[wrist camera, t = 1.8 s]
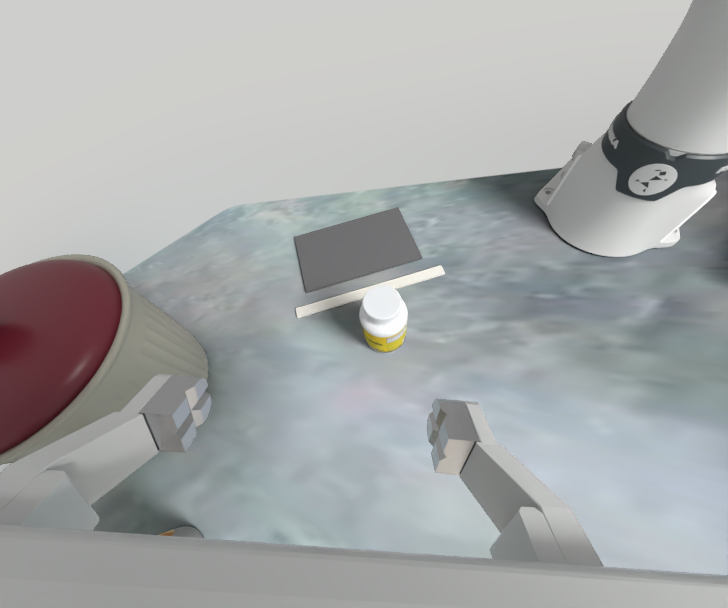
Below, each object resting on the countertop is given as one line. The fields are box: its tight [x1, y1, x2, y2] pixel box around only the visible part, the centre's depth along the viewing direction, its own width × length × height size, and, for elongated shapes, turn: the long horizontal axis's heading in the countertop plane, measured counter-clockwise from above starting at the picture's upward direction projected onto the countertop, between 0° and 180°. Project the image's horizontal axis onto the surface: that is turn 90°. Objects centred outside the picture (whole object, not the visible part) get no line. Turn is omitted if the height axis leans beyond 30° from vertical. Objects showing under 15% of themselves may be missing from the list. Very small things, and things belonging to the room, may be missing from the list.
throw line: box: [296, 265, 445, 318], centre depth 39 cm, size 22×2×1 cm, turn 106°
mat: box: [295, 207, 422, 293], centre depth 43 cm, size 18×11×1 cm, turn 106°
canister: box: [0, 254, 209, 465], centre depth 27 cm, size 18×18×21 cm
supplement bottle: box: [359, 285, 408, 353], centre depth 32 cm, size 5×5×10 cm
